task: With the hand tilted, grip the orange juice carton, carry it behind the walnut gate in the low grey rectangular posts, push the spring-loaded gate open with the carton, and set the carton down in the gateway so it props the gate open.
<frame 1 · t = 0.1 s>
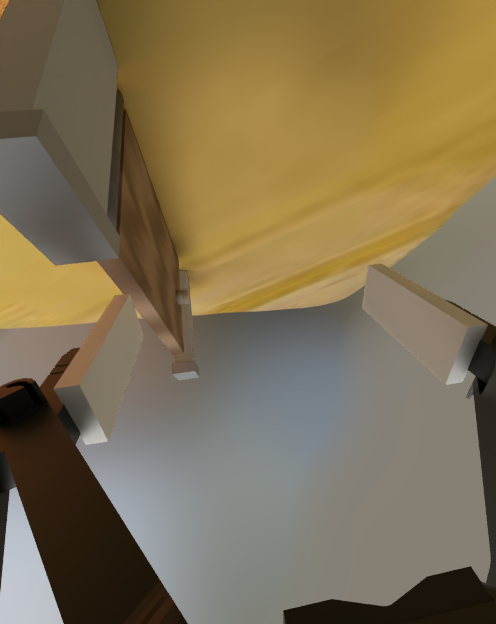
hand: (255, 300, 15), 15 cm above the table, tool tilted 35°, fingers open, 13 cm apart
gate: (158, 254, 24), point 6 cm above the table, hinge at 0.0°
grey rectangular posts: (154, 209, 27), on the table
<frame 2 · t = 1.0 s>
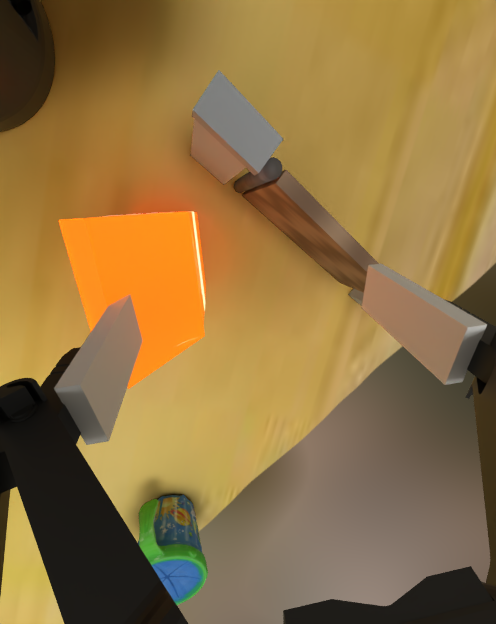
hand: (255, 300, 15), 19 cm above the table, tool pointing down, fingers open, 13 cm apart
gate: (320, 235, 28), point 7 cm above the table, hinge at 0.0°
grey rectangular posts: (299, 241, 35), on the table
snack cup: (170, 507, 45), on the table
orange juice: (169, 253, 32), on the table, touching gripper
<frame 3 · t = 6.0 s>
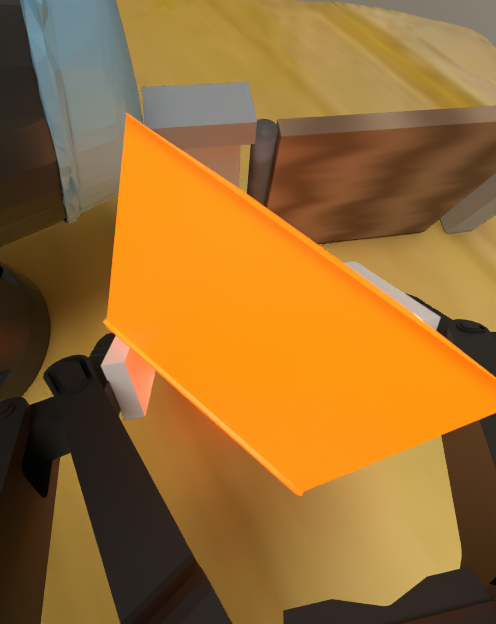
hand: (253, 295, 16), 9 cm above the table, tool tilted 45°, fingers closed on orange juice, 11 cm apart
gate: (362, 187, 22), point 7 cm above the table, hinge at 0.0°
grey rectangular posts: (345, 236, 28), on the table
orange juice: (246, 360, 24), on the table, touching gripper
when the fingers open (10 cm above the table, at t = 11.4 s): orange juice stays where it is, on the table.
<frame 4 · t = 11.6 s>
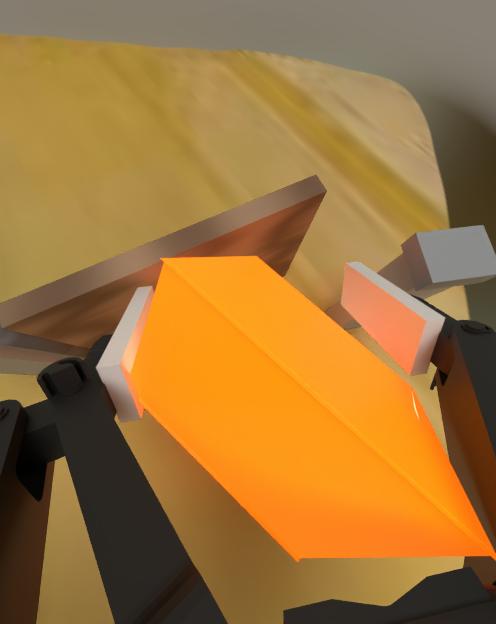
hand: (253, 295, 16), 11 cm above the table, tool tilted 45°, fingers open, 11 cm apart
gate: (180, 282, 20), point 6 cm above the table, hinge at 18.4°, touching gripper
grey rectangular posts: (215, 337, 25), on the table
orange juice: (249, 384, 25), on the table
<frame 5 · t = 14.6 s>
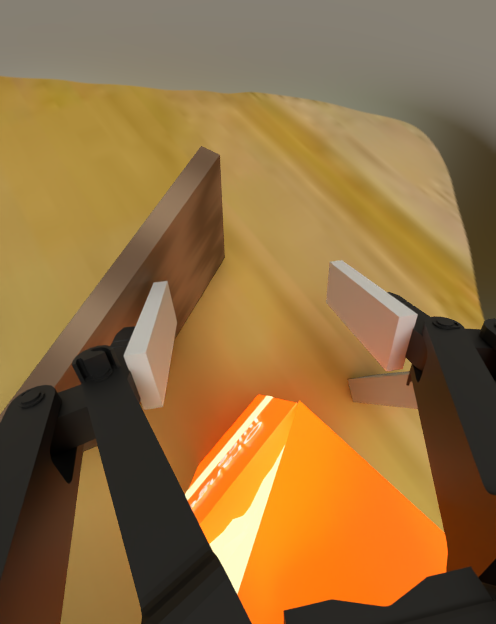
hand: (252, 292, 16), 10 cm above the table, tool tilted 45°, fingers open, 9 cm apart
gate: (141, 317, 19), point 6 cm above the table, hinge at 53.7°, touching gripper
grey rectangular posts: (230, 410, 24), on the table
orange juice: (267, 464, 23), on the table
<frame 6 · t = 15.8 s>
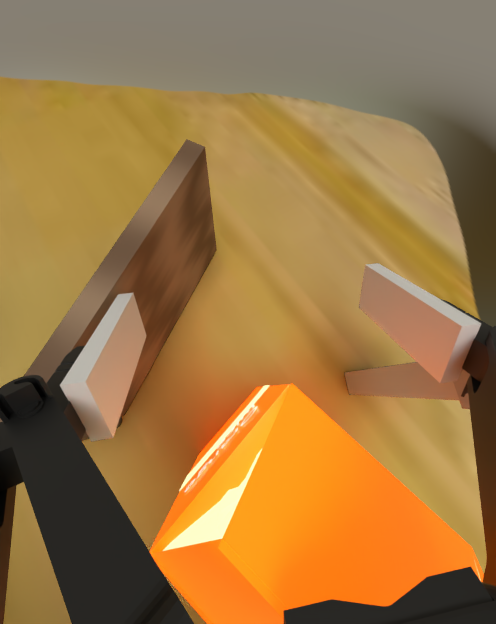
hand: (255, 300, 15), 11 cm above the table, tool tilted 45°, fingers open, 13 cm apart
gate: (137, 307, 20), point 7 cm above the table, hinge at 56.8°, touching gripper
grey rectangular posts: (229, 402, 24), on the table
orange juice: (265, 454, 23), on the table
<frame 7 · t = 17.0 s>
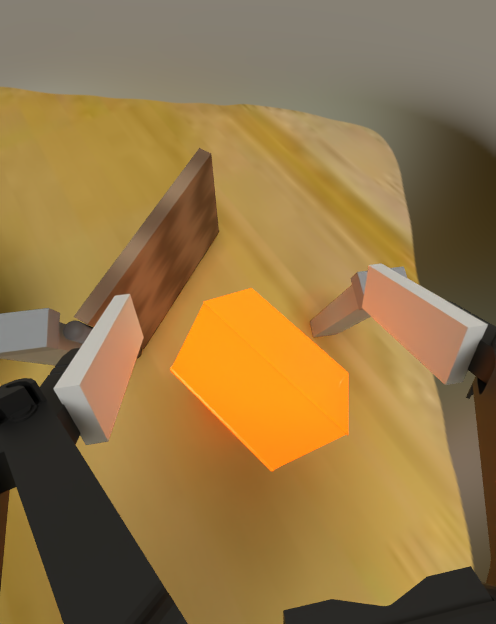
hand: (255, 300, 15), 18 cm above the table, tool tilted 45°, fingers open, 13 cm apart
gate: (159, 265, 27), point 6 cm above the table, hinge at 54.1°
grey rectangular posts: (222, 341, 32), on the table
orange juice: (248, 379, 31), on the table
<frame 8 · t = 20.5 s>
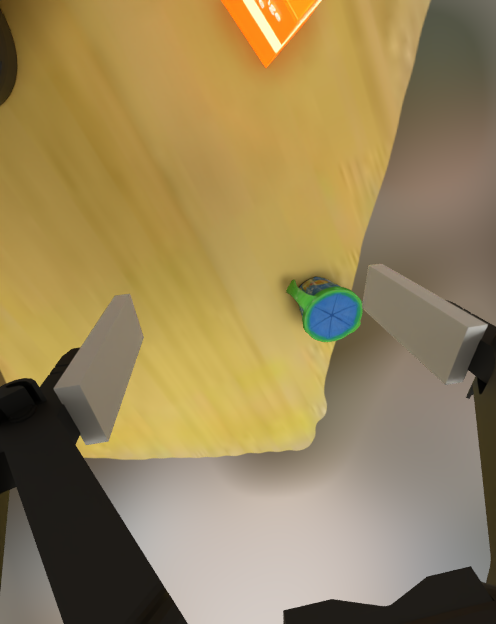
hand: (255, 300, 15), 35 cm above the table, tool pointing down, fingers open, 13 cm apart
snack cup: (313, 292, 56), on the table
orange juice: (265, 9, 35), on the table
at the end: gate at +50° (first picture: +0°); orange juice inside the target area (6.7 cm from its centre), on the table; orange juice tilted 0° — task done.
